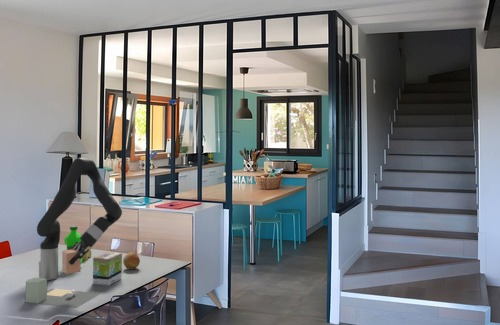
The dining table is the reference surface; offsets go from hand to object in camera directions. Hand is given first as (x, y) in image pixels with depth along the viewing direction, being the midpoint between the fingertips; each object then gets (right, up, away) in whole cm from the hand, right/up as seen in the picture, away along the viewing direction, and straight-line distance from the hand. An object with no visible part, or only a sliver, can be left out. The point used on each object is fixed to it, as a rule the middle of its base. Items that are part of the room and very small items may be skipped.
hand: (68, 262), depth 241 cm
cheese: (-21, -14, +81) cm, 85 cm away
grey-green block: (-14, -18, -4) cm, 23 cm away
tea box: (+11, -17, +30) cm, 36 cm away
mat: (-2, -18, +1) cm, 18 cm away
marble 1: (+1, -18, 0) cm, 18 cm away
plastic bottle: (-18, -15, +58) cm, 63 cm away
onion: (+17, -16, +56) cm, 61 cm away
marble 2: (+1, -17, +4) cm, 18 cm away
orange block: (+1, -5, +1) cm, 5 cm away
